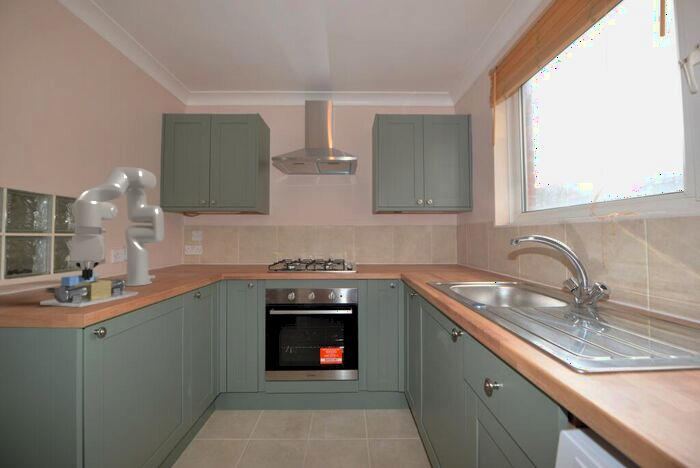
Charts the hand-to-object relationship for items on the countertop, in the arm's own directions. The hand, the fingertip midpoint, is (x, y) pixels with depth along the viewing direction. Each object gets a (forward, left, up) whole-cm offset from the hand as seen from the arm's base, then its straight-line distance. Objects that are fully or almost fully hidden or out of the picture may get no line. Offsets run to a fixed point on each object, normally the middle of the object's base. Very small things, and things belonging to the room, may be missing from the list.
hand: (87, 279), depth 115 cm
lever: (-1, -3, -2) cm, 4 cm away
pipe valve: (-6, -5, -9) cm, 12 cm away
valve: (-17, -29, -10) cm, 35 cm away
